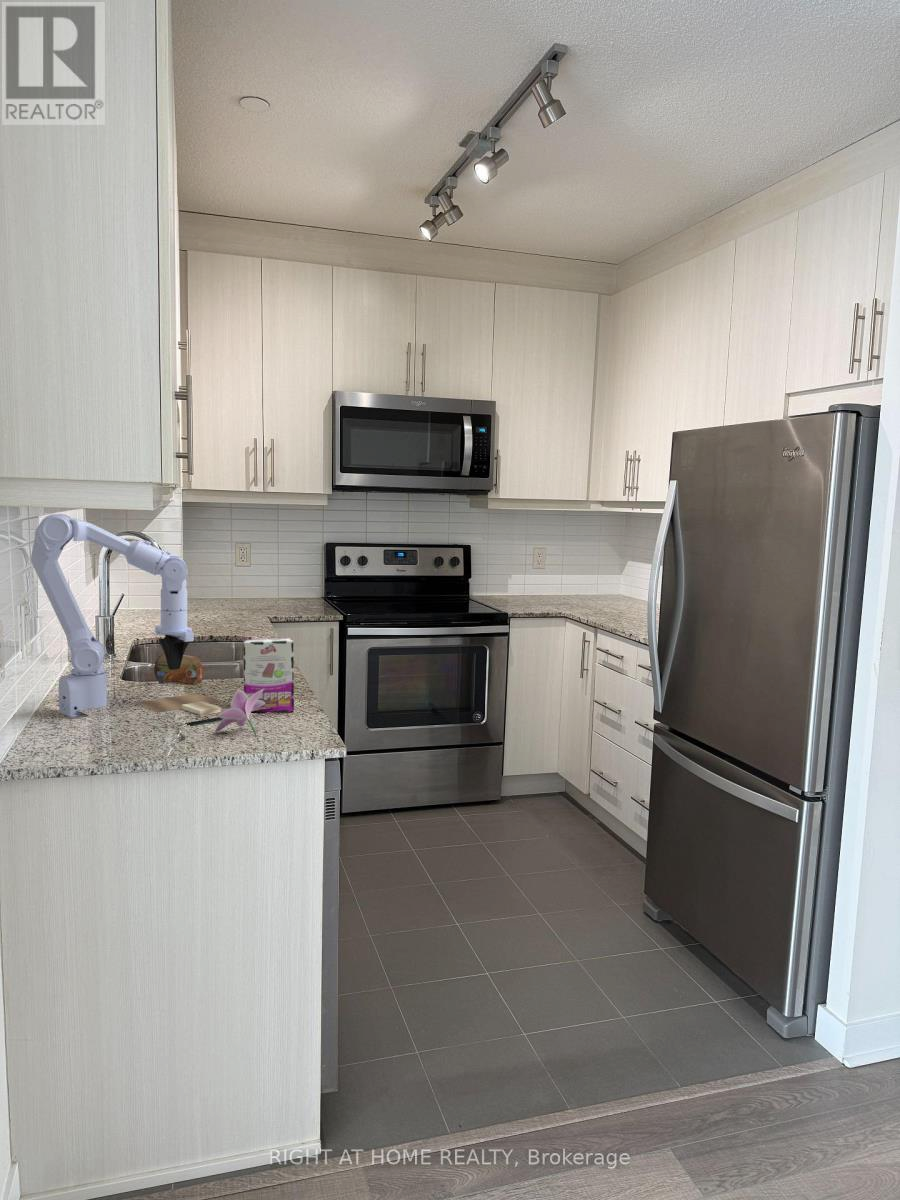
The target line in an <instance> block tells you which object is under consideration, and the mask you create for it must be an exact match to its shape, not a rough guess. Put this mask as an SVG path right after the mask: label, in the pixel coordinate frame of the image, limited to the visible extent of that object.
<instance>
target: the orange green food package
mask: <svg viewBox="0 0 900 1200" xmlns="http://www.w3.org/2000/svg"><path fill="white" fill-rule="evenodd" d="M153 670H154V672H153V673H154V678H155V679H156V681H157V682H158V683H159V684H166V683H167V684H168V683H173V682H174V683H175V682H176V683H183V684H189V685H193V686H194V685H199V684H201V683H202V681H203V678H204V666H203V663H202V661H201V660H200V659H199V658H198V657H197V656H194V655H183V658H182V662H181V666H180V669H176V670H170V669H169V668H168V665H167V660H166V657H165V653H164V654H160V655H159V656H158V657H157V658H156V661H155V662H154V667H153Z"/></svg>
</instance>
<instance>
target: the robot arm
mask: <svg viewBox="0 0 900 1200" xmlns="http://www.w3.org/2000/svg"><path fill="white" fill-rule="evenodd" d="M72 539H73V542H78V541H79V542H82V541H83V542H84V541H85V542H86V541H88V542H89V541H90V542H92V543H94V544H97V545H99V546H101V547H104V548H106V549H108V550H111V551H113V552H116V553H118V554H121V555H123V556H125V559H126V562H127V564H129V565H130V566H133V567H134V568H135V567H136V568H137V569H140V570H142V571H145V572H146V573H149V574H151V575H154V576H156V575H157V576H158V575H160V576H161V589H160V625H155V626H154V631H155V632H154V634H155V635H160V636H164V637H163V638H158V643H159V645H160V646H161V648H162V650H163V653H164V654H165V657H166V660H167V665H168V668H169V669H170V670H176V669H180V666H181V662H182V658H183V655H184V654H185V651H186V649H187V647H188V646H189V644H190V642H194V641H195V639H194V638H195V633H194V632H192V630H193V628H192V627H188V589H187V585H188V583H187V577H188V575H189V571H188V566H187V564H186V562H185V561H184V560H183V559H182V558H180V557H179V556H178V555H172V552H171V551H169V550H166V551H165V550H162V549H159V548H158V547H155V546H153V545H151V544H152V542H151V541H148V540H145V541H143V540H136V541H132V542H130V541H128V540H126V539H123V538H122V537H119V536H117V535H116V534H113V533H111V532H110V531H107V530H106V529H104V528H101V527H100V526H98V525H95V524H93V523H91V522H89V521H85V520H83V519H80V518H79V519H78V518H75V517H74V518H72V517H70V516H69V515H68V514H63V513H57V514H55V513H54V514H49V515H47V516H45V517H44V518H43V519H42V520H41V522H40V523H39V524H38V525H37V527H36V528H35V531H34V539H33V545H32V550H31V555H30V561H31V564H32V567H33V569H34V571H35V573H36V575H37V578H38V579H39V581H40V583H41V585H42V588H43V590H44V592H45V594H46V596H47V598H48V601H49V603H50V605H51V607H52V609H53V611H54V613H55V615H56V618H57V619H58V622H59V624H60V627H61V628H62V630H63V632H64V634H65V637H66V641H67V646H68V647H69V650H70V654H71V655H70V656H71V657H70V663H71V665H72V667H73V668H72V669H71V670H70V673H68V674H67V675H62V676H60V678H59V679H58V710H57V712H58V713H60V714H63V716H66V717H69V718H73V719H75V718H81V717H87V716H89V714H87V713H84V712H83V710H92V709H100V708H103V707H106V706H107V705H108V681H107V680H108V677H107V676H108V675H107V668H105V666H104V665H103V662H104V660H105V658H106V648H105V646H104V644H102V643H101V641H99V640H98V639H97V638H96V637H95V635H94V634H93V631H92V630H91V629H90V627H89V626H88V624H87V621H86V620H85V617H84V615H83V612H82V611H81V609H80V607H79V605H78V603H77V600H76V599H75V596H74V593H73V591H72V589H71V587H70V586H69V583H68V580H67V579H66V577H65V575H64V572H63V570H62V568H61V566H60V564H59V561H58V560H59V559H60V556H61V554H62V553H63V550H64V547H66V545H67V544H69V542H71V540H72ZM81 711H82V712H81Z"/></svg>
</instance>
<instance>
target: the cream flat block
mask: <svg viewBox="0 0 900 1200" xmlns="http://www.w3.org/2000/svg"><path fill="white" fill-rule="evenodd" d="M181 710H183V711H187V712H188V713H192V714H195V715H198V716H206V715H211V714H216V713H222V707H220V706H217V705H215V704H209V703H206V702H195V703H189V704H183V705H182V709H181Z"/></svg>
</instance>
